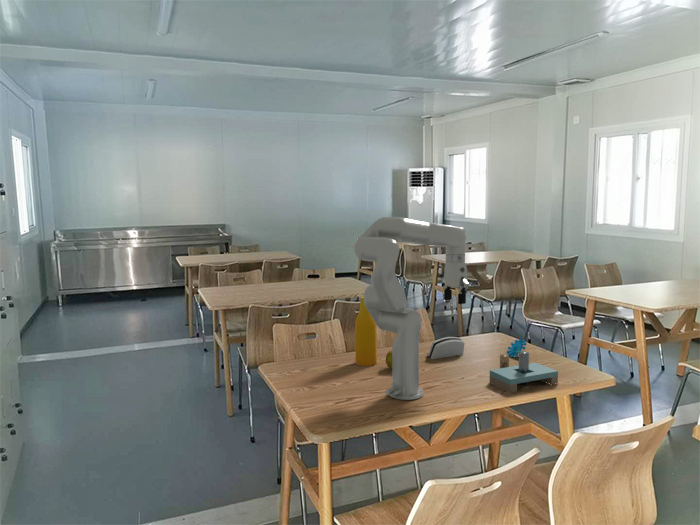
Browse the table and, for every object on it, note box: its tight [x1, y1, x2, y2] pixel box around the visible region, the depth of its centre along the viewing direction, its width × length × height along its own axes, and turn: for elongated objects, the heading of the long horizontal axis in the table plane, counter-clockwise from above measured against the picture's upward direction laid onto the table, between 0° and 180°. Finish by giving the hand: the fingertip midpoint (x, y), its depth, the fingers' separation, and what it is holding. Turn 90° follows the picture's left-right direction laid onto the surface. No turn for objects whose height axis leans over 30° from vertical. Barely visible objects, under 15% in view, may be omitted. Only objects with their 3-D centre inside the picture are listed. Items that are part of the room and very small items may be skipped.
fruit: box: [385, 349, 392, 370], centre depth 226 cm, size 10×9×8 cm
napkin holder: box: [426, 336, 465, 360], centre depth 242 cm, size 17×5×10 cm, turn 114°
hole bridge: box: [489, 362, 559, 394], centre depth 205 cm, size 22×12×5 cm, turn 113°
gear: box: [505, 338, 527, 359], centre depth 241 cm, size 11×6×10 cm
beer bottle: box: [354, 295, 378, 367], centre depth 233 cm, size 9×9×29 cm
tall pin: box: [517, 350, 530, 386], centre depth 205 cm, size 4×4×12 cm
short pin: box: [499, 353, 510, 369], centre depth 222 cm, size 4×4×6 cm
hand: (454, 301), depth 214 cm, fingers open, 9 cm apart
